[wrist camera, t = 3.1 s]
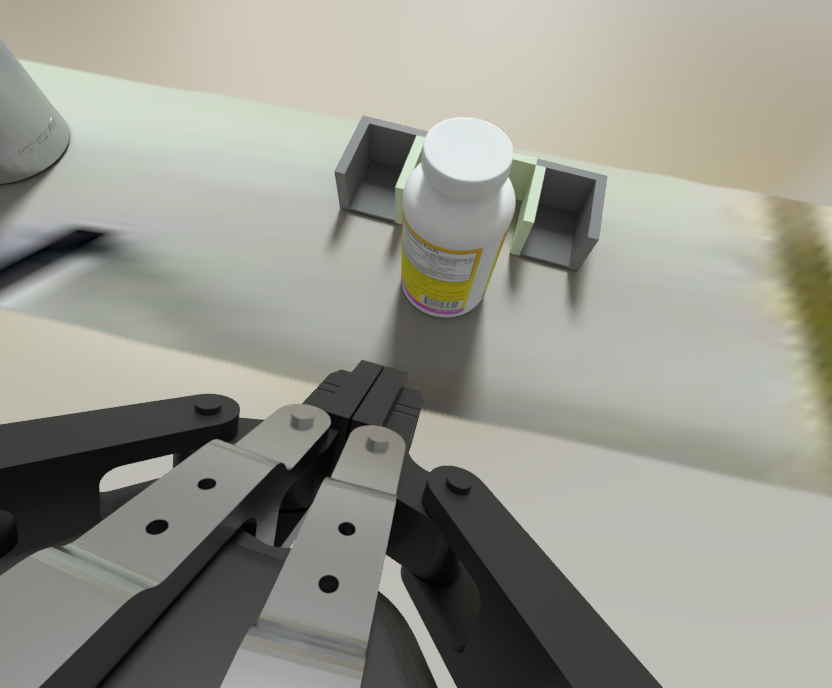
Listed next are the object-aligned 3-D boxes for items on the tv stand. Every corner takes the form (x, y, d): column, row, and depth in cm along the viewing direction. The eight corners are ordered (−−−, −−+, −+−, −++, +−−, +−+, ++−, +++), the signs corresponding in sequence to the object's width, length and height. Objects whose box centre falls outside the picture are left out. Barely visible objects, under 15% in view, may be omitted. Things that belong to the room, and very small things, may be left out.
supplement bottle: (452, 236, 35) (482, 87, 24) (502, 294, 33) (561, 163, 22) (383, 272, 34) (379, 130, 22) (431, 336, 31) (455, 218, 20)
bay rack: (340, 208, 36) (334, 171, 32) (365, 155, 39) (362, 115, 35) (576, 271, 34) (598, 239, 31) (586, 211, 37) (607, 176, 34)
